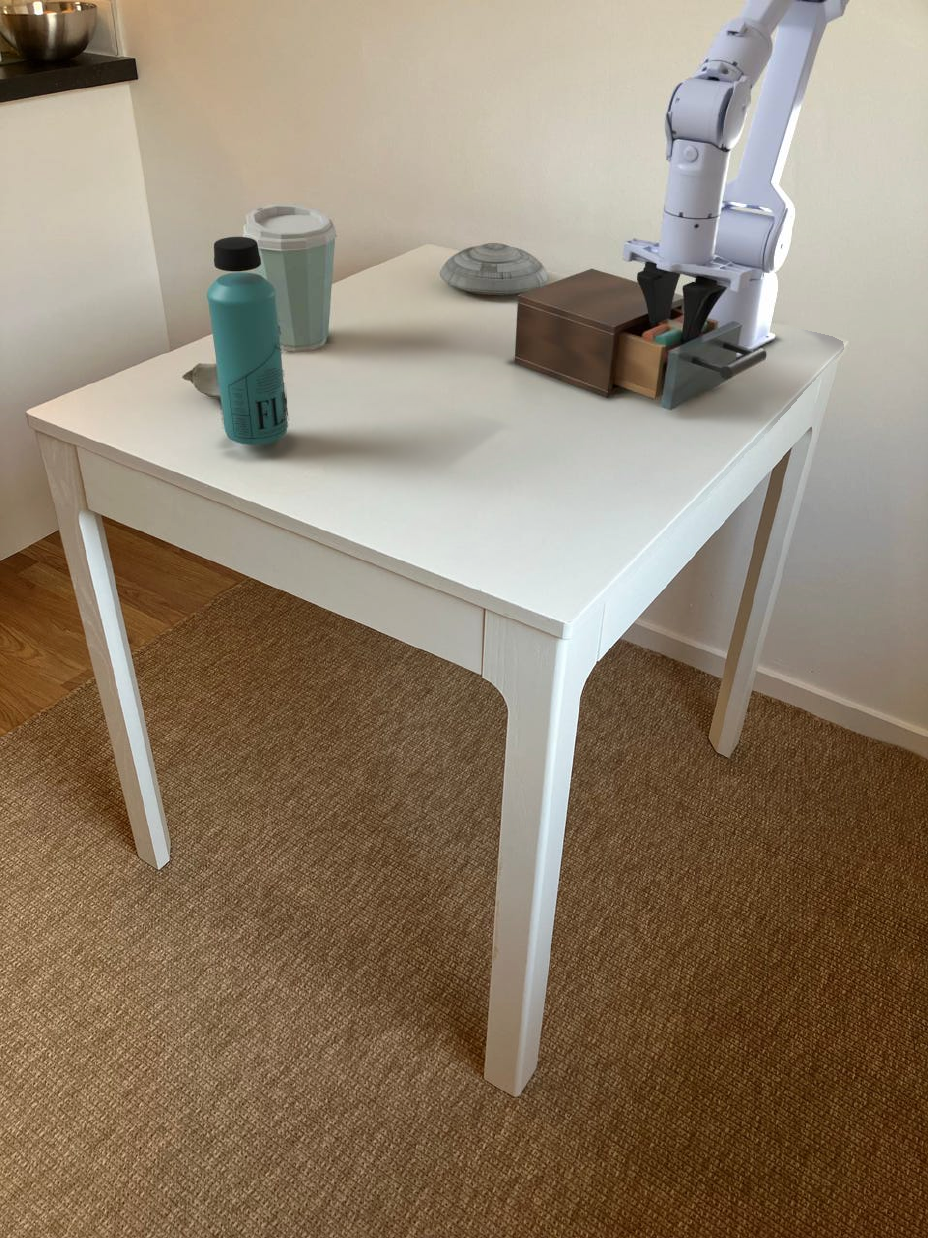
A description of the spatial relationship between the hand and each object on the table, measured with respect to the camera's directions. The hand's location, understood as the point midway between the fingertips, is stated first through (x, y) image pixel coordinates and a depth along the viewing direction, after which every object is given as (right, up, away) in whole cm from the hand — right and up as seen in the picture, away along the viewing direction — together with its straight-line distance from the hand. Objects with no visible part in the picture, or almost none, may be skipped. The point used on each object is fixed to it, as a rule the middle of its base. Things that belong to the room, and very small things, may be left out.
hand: (673, 340), depth 114 cm
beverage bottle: (-44, -13, -9) cm, 46 cm away
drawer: (+1, -4, +2) cm, 5 cm away
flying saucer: (-19, +16, +31) cm, 39 cm away
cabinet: (-7, 0, +9) cm, 12 cm away
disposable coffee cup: (-43, +3, +12) cm, 45 cm away
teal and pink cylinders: (0, -1, +1) cm, 1 cm away
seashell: (-49, -6, 0) cm, 49 cm away
